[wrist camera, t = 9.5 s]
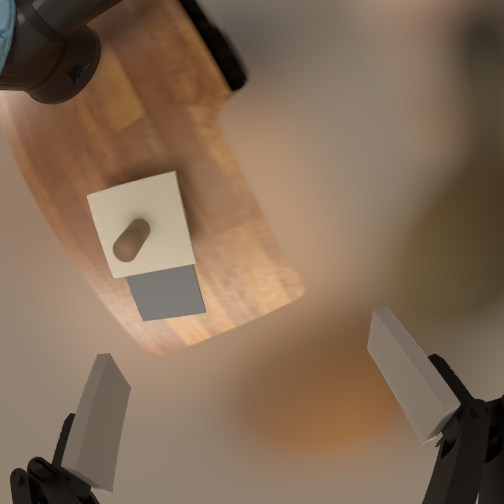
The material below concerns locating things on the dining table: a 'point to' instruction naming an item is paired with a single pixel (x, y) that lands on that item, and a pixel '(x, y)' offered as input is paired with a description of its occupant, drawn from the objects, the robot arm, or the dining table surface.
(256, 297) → the dining table surface
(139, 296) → the mat
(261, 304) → the dining table surface
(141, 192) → the lid
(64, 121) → the dining table surface
